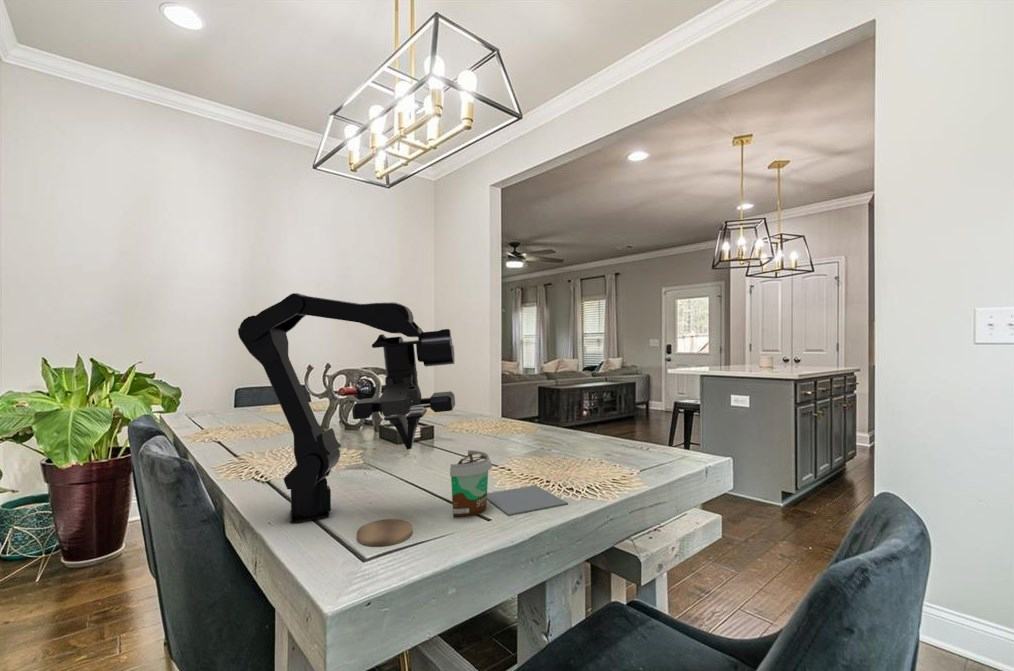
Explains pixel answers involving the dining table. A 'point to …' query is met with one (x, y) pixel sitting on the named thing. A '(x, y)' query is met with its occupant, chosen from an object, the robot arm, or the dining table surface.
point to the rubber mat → (524, 500)
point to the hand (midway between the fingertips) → (409, 448)
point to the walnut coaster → (384, 532)
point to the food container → (470, 484)
